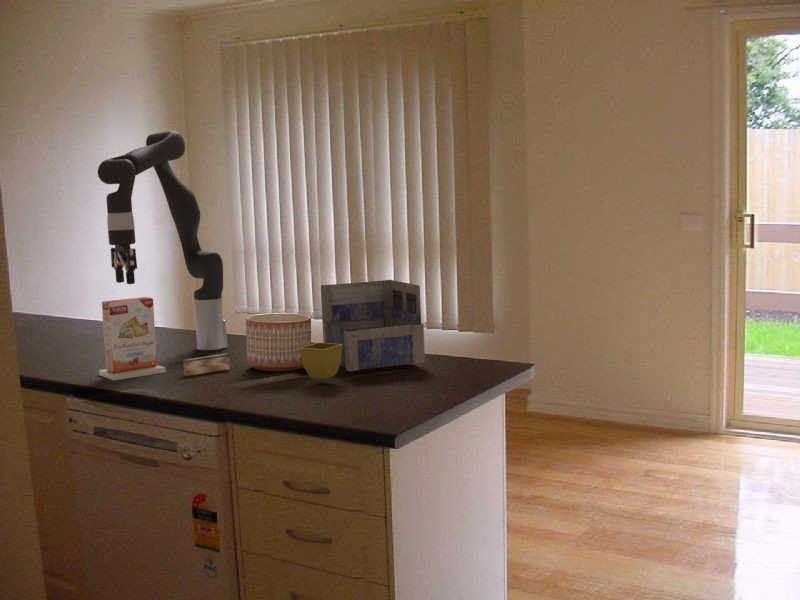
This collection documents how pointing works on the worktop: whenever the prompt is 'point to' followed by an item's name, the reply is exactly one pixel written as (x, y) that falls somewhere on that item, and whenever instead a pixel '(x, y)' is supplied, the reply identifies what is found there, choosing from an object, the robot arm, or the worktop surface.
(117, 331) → the cracker box
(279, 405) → the worktop surface
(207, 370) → the tear rail
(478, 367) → the worktop surface
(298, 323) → the planter
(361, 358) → the building
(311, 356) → the flower pot
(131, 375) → the plate
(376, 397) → the worktop surface
